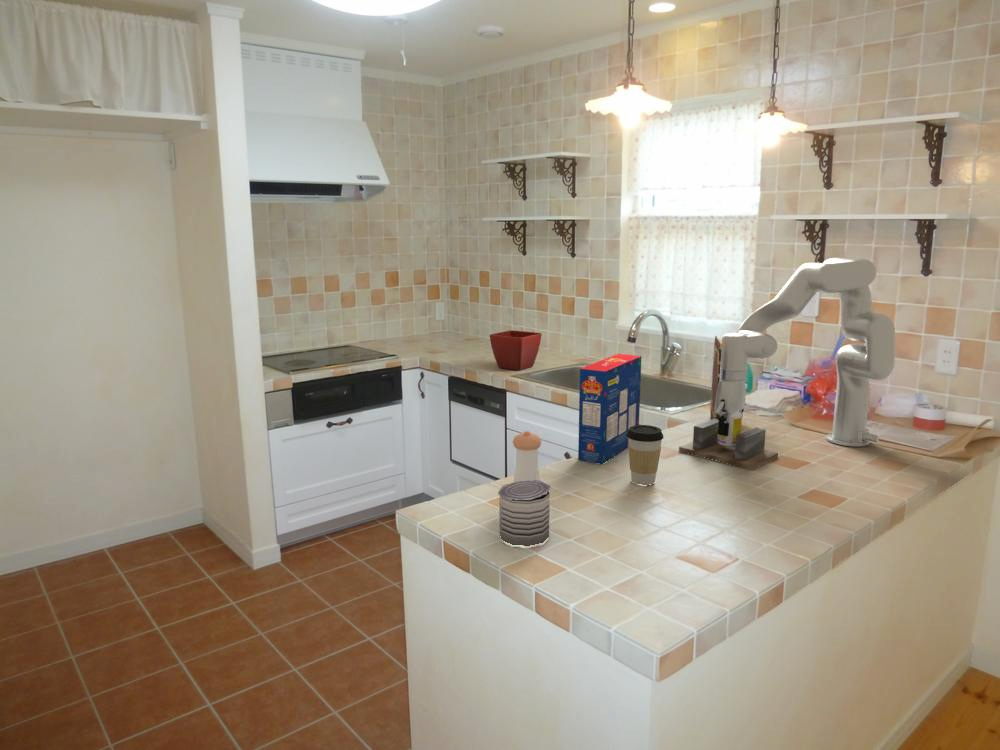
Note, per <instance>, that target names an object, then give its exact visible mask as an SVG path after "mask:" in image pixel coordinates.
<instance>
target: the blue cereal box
mask: <svg viewBox="0 0 1000 750" xmlns="http://www.w3.org/2000/svg"><path fill="white" fill-rule="evenodd" d="M641 378H642V355H633V354H632V355H631V354H623V353H616V354H614V355H612V356H609V357H607V358H604V359H602V360H598V361H596V362H594V363H591V364H589V365H586V366H583V367H580V368H579V397H578V398H579V400H578V403H579V404H578V412H579V413H578V448H577V449H578V453H577V454H578V455H577V457H578V458H577V459H578V461H580V462H587V463H592V464H596V463H600V464H599V465H601V464H603V463H605V462H606V461H608V460H609V459H611V458H612V459H613V458H615V457H616V456H618V455H619V454H621V453H622V452H623V451H625V450H626V449H628V445H629V443H628V437H627V436H626V435H627V432H628V431H629V428H630V427H632V426H636V425H640V409H641V408H640V405H641V403H640V402H641ZM614 456H615V457H614ZM612 459H611V460H612ZM609 461H610V460H609ZM609 461H608V462H609ZM606 463H607V462H606ZM606 463H605V464H606ZM603 465H604V464H603Z"/></svg>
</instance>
